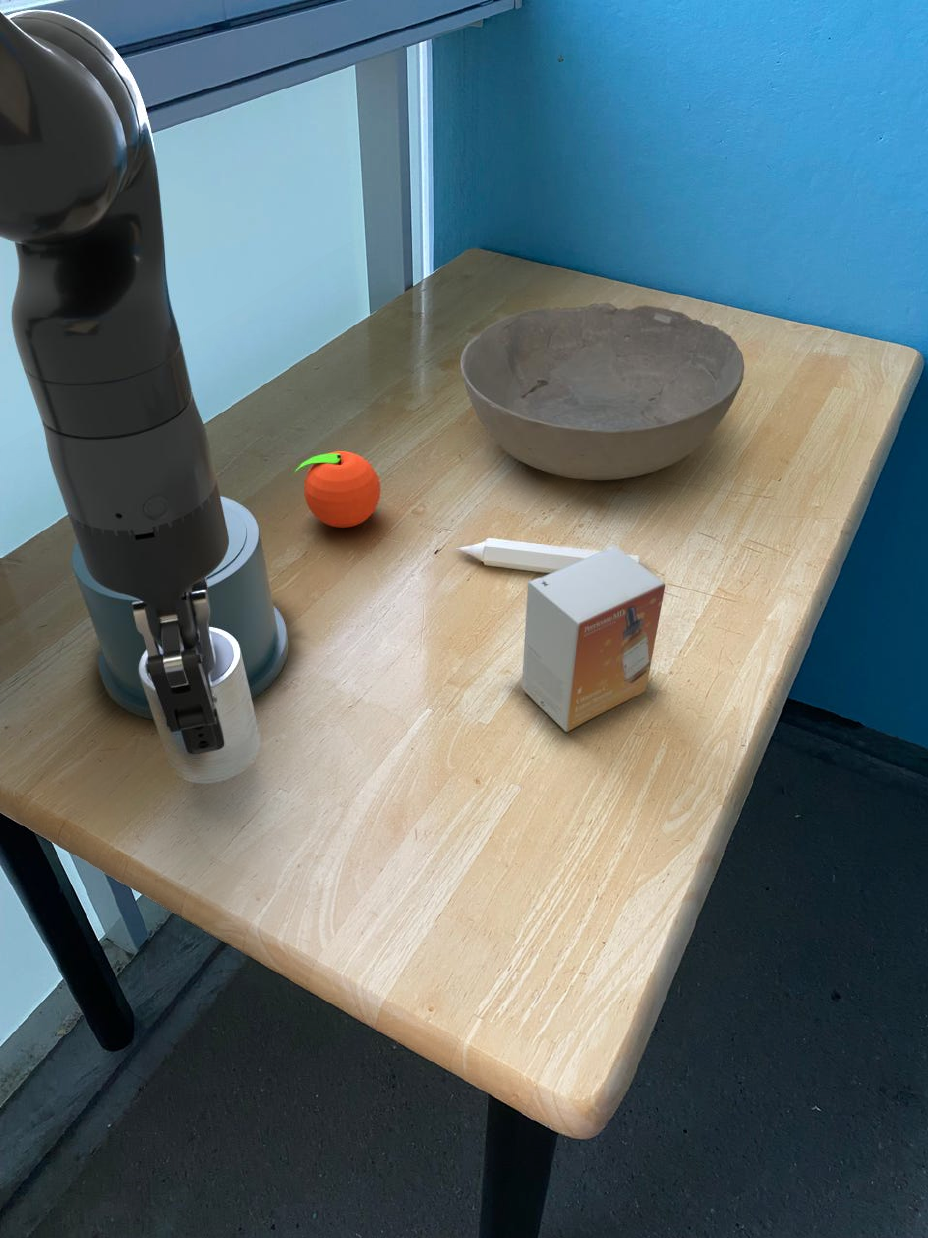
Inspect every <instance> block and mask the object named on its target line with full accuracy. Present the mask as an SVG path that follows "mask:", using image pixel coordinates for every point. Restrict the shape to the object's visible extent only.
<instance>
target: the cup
mask: <svg viewBox="0 0 928 1238" xmlns="http://www.w3.org/2000/svg"><path fill="white" fill-rule="evenodd" d="M209 629H210V633H211V638H212V643H213V648H214V652H215V657H216V661H215V668H214V670H213V671H212V672H210V677H211V682H212V687H213V691H214V694H216V695H217V700H218V702H217V703H216V708H217V712H218V716H219V720H220V723H221V727H222V731H223V735H224V746H223V748H221V749H219V750H215V751H210V752H205V753H200V754H190V753H188V752H187V749H186V746H185V743H184V740H183V736H182V733H181V730H180V731H178V732H173V733H171V731H170V728H169V727H167V723H166V717H165V714H164V712H163V709H162V706H161V703H160V701H159V698H158V695H157V692H156V690H155V687H154V684H153V681H152V679H151V676H150V673H148V672H147V668H146V664H148V653H147V650H146V651H145V652H144V654H143V655H142V657H141V659H140V663H139V675H140V678H141V682H142V685H143V688H144V691H145V694H146V697H147V700H148V703H149V706H150V709H151V712H152V715H153V718H154V720H153V721H154V724H155V726H156V730H157V733H158V735H159V736H158V737H159V738H160V742H161V744H162V748H163V750H164V754H165V757H166V760H167V763H168V765H169V767H170V769H171V771H172V772H173V773H174V774H175V775H177V776H178V777H180V778H181V779H183V780H185V781H188V782H191V783H195V784H214V783H220V782H223V781H226V780H229V779H232V778H233V777H236V776H237V775H239V774H240V773H242V772H244V771H245V770H246V769H247V768H248V767H249V766H251V764H252V763H253V762H254V761H255V759H256V758H257V756H258V754H259V752H260V748H261V742H262V740H261V733H260V729H259V726H258V720H257V716H256V711H255V706H254V702H253V699H252V698H251V693H250V689H249V684H248V680H247V676H246V671H245V667H244V662H243V658H242V653H241V649H240V646H239V644H238V642H237V641H236V639H235V638H234V637H233V636H232V635H230V634H229V633H227V632H225V631H223V630H220V629H217V628H213V627H209ZM158 646H159V644H158ZM194 648H197V651H198V654H201V653H202V652H203V648H202V643H201V639H200V645H197V646H196V647H194ZM159 650H160V654H163V649H162V648H161V647H160V646H159Z"/></svg>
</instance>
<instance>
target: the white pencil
mask: <svg viewBox="0 0 928 1238" xmlns="http://www.w3.org/2000/svg"><path fill="white" fill-rule="evenodd" d="M454 549H455V550H458V551H460V552H463V553H464V554H467V555H471V556H472V557H474V558H475V559H477V560H479V561H480V562H483V564H484V566H488V567H494V568H495V567H497V568H504V569H511V570H512V569H513V570H520V571H527V572H535V573H543V574H545V573H546V574H550V573H553V572H555V571H557V570H560V569H562V568H565V567H567V566H569V565H572V564H574V563H576V562H578V561H581V560H583V559H586V558H588V557H590V556H592V555H595V554H597V553H599V552H601V550H593V549H584V548H577V547H576V548H575V547H567V546H560V545H551V544H544V543H543V544H542V543H534V542H527V541H520V540H519V541H518V540H510V539H501V538H493V537H486V540H484V541H482V542H478V543H474V544H471V545H466V546H461V547H455V548H454ZM627 555H628V556H630V557H631V558H632V559H634V560H635V561H636V562H638V563H639V560H640V555H633V554H627Z"/></svg>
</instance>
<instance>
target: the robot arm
mask: <svg viewBox="0 0 928 1238" xmlns="http://www.w3.org/2000/svg"><path fill="white" fill-rule="evenodd" d="M146 110H147V109H146V106H145V103H144V100H143V98H142V95H141V92H140V90H139V87H138V85H137V83H136V80H135V78H134V76H133V74H132V73H131V71H130V69H129V68H128V66H127V65H126V63H125V62H124V60H123V59H122V57H121V56H120V55H119V54H118V52H117V51H116V49H115V48H114V47H113V46H112V45H111V44H110V43H109V42H108V41H107V40H106V39H105V38H104V37H103V36H102V35H101V34H100V33H98V32H97V31H96V30H94V28H92V27H91V26H89V25H87V24H86V23H85V22H82V21H80V20H78V19H76V18H75V17H72V16H70V15H67V14H64V13H61V12H57V11H53V10H39V9H32V10H23V11H19V12H15V13H12V14H9V15H6V14H4V12H2V10H0V238H2V239H5V240H7V241H10V242H13V243H14V245H15V246H14V247H15V250H16V255H17V263H18V279H17V285H16V289H15V294H14V297H13V302H12V306H11V326H12V332H13V337H14V342H15V345H16V349H17V353H18V355H19V358H20V361H21V365H22V367H23V371H24V374H25V376H26V379H27V382H28V385H29V388H30V390H31V391H30V392H31V394H32V397H33V400H34V402H35V405H36V409H37V411H38V414H39V417H40V420H41V423H42V426H43V431H44V437H45V442H46V448H47V454H48V458H49V461H50V465H51V468H52V472H53V475H54V477H55V480H56V483H57V486H58V489H59V493H60V495H61V498H62V501H63V504H64V506H65V510H66V512H67V515H68V518H69V520H70V523H71V526H72V529H73V532H74V535H75V538H76V540H77V541H78V544H79V547H80V550H81V552H82V555H83V558H84V561H85V564H86V567H87V570H88V572H89V573H90V575H91V576H92V578H93V579H94V580H95V581H96V582H98V583H99V584H100V585H102V586H103V587H105V588H107V589H109V590H111V591H114V592H117V593H121V594H125V595H129V596H132V597H135V598H137V599H138V600H140V601H135V602H132V607H133V614H134V618H135V622H136V627H137V630H138V631H139V633H141V634H142V635H143V636H144V640H145V644H146V649H147V653H148V664H146V668H147V672H148V673H150V676H151V679H152V681H153V684H154V687H155V690H156V692H157V695H158V698H159V701H160V703H161V706H162V709H163V712H164V714H165V717H166V723H167V727H169V728H170V731H171V733H173V732H178V731H180V730H181V733H182V736H183V740H184V743H185V746H186V749H187V752H188V753H190V754H200V753H205V752H210V751H215V750H219V749H221V748H223V746H224V735H223V731H222V727H221V723H220V720H219V716H218V712H217V708H216V703H217V702H218V700H217V695H216V694H214V691H213V687H212V682H211V677H210V672H212V671H213V670H214V668H215V661H216V657H215V652H214V648H213V643H212V638H211V633H210V629H209V624H208V622H209V620H210V605H209V598H208V592H207V589H208V585H207V579H206V577H207V576H208V575H209V574H211V573H212V572H213V571H214V570H215V569H216V568H217V567H218V566H219V565H220V563H221V562H222V561H223V559H224V557H225V555H226V553H227V550H228V546H229V535H228V531H227V526H226V521H225V517H224V512H223V507H222V503H221V498H220V496H221V494H220V490H219V485H218V479H217V475H216V470H215V466H214V460H213V456H212V452H211V448H210V443H209V438H208V433H207V431H206V427H205V424H204V422H203V421H204V420H203V419H202V416H201V414H200V411H199V408H198V406H197V402H196V400H195V397H194V393H193V388H192V383H191V379H190V375H189V371H188V366H187V365H188V364H187V361H186V356H185V353H184V347H183V342H182V339H181V335H180V331H179V327H178V324H177V321H176V317H175V314H174V310H173V307H172V306H173V305H172V302H171V297H170V291H169V285H168V276H167V265H166V251H165V235H164V234H165V233H164V224H163V223H164V222H163V213H162V211H163V210H162V202H161V191H160V183H159V181H160V180H159V175H158V174H159V173H158V166H157V157H156V151H155V147H154V146H155V145H154V141H153V135H152V131H151V130H152V129H151V126H150V122H149V119H148V114H147V111H146ZM77 541H76V542H77ZM200 639H201V643H202V648H203V652H202V653H201V654H198V651H197V648H194V647H196V646H197V645H200ZM158 644H159V646H160V647H161V648H162V649H163V654H160V650H159V646H158Z"/></svg>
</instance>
